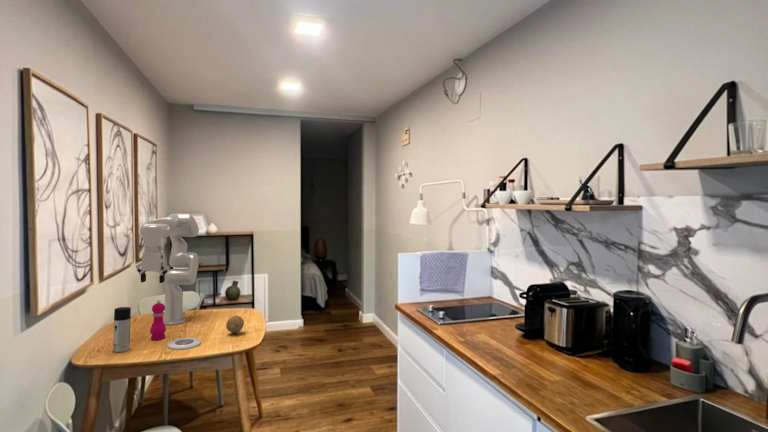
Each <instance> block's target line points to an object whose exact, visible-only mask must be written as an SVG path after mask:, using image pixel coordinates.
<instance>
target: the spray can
mask: <svg viewBox="0 0 768 432" xmlns="http://www.w3.org/2000/svg"><path fill="white" fill-rule="evenodd" d="M131 309H132V307H130V306H122V307H121V306H120V307H116V308H114V312H113V337H112V338H113V342H112V343H113V344H112V345H113V346H112V347H113V348H112V351H113V353H124V352H127V351H129V350H130V347H131V346H130V345H131V315H132V314H131V313H132V312H131Z"/></svg>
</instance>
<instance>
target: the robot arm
mask: <svg viewBox="0 0 768 432" xmlns="http://www.w3.org/2000/svg"><path fill="white" fill-rule="evenodd" d="M199 231H200V228H199V225H198V223H197V221H196V219H195V217H194V216H193V215H192V214H191V213H179V212H178V213H171V214H168V215H167V216H166V217H160V218H157V219H151V220H147V221H146V222H143V224H141V226H140V229H139V234H140V235H141V237H142V238H144V243H143V245H144V246H143V249H144V250H143V252H142V255H141V262H140V263H138V264H136V265H135V268H136V272H138V274H139V276H140V283H144V282H146V281H147V273H146V272H158V273H159V277H158V279H159V281H158V282H159V284H164V306H165V310H164V318H163V322H164V324H165V326H166V325H167V326H169V325H170V326H172V325H180V324H183V323H185V322H186V318H185V317H183V316H185V315H186V312H185V311H183V309H184V308H183V306H184V305H183V304H184V293H183V289H182V288H181V286H192V285H194V284H195V283H196V281H197V274H198V268H199V259H200V258H199V255H198V253H196V252H193V251H192V252H191V251H188V243H187V242H186V240H184V238H195V237H197V236H198V235H199ZM168 237H169V239H170V241H171V249H170V255H169V262H168V263H169V265H167V264H166V262H165V255H164V252H163V251H162V250H164V247H163V246H162V239H166V238H168ZM187 251H188V252H187ZM170 268H171V269H170Z"/></svg>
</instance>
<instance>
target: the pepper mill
mask: <svg viewBox="0 0 768 432" xmlns="http://www.w3.org/2000/svg"><path fill="white" fill-rule="evenodd" d="M151 311H152V312H153V313H152V316H153V321H152V324H151V326H150V329H149V333H150V339H151V341H161V340H165V339H166V334H165V332H166V331H167V327H166V325H165V324H164V322H163V320H164V316H165V303H162V302H161V300H156V303H154V304H153V305H152V307H151Z"/></svg>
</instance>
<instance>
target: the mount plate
mask: <svg viewBox="0 0 768 432" xmlns="http://www.w3.org/2000/svg"><path fill="white" fill-rule="evenodd" d="M201 344H202V340H201V339H200V338H198V337H181V338H176V339H173V340H171V341H168V342H167V348H168V349H169V350H174V351H180V350H181V351H183V350H190V349H193V348H197V347H198V346H201Z"/></svg>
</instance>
